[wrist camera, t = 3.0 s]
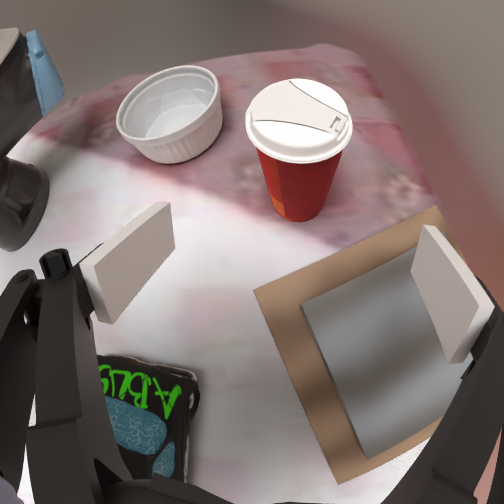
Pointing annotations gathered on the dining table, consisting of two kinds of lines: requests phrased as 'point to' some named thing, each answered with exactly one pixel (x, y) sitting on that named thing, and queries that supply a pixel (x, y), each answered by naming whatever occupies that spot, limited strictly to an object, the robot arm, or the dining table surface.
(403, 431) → the two-tone square platform
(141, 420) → the toy van
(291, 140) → the paper cup
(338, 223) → the dining table surface
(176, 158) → the ramekin
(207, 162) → the dining table surface
